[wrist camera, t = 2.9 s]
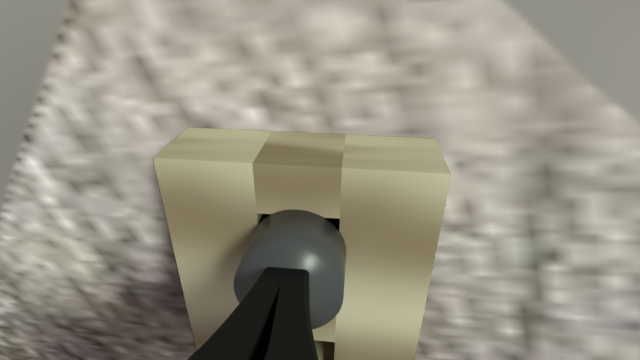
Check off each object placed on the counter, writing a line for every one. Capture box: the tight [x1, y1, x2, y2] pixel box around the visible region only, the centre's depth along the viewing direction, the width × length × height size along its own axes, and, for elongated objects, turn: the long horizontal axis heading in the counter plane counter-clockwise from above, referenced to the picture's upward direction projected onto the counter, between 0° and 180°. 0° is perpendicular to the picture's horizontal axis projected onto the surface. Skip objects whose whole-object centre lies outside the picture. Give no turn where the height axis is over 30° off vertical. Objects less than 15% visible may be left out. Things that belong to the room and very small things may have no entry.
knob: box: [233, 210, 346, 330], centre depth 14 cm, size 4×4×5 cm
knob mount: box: [153, 128, 451, 360], centre depth 18 cm, size 20×10×3 cm, turn 0°
